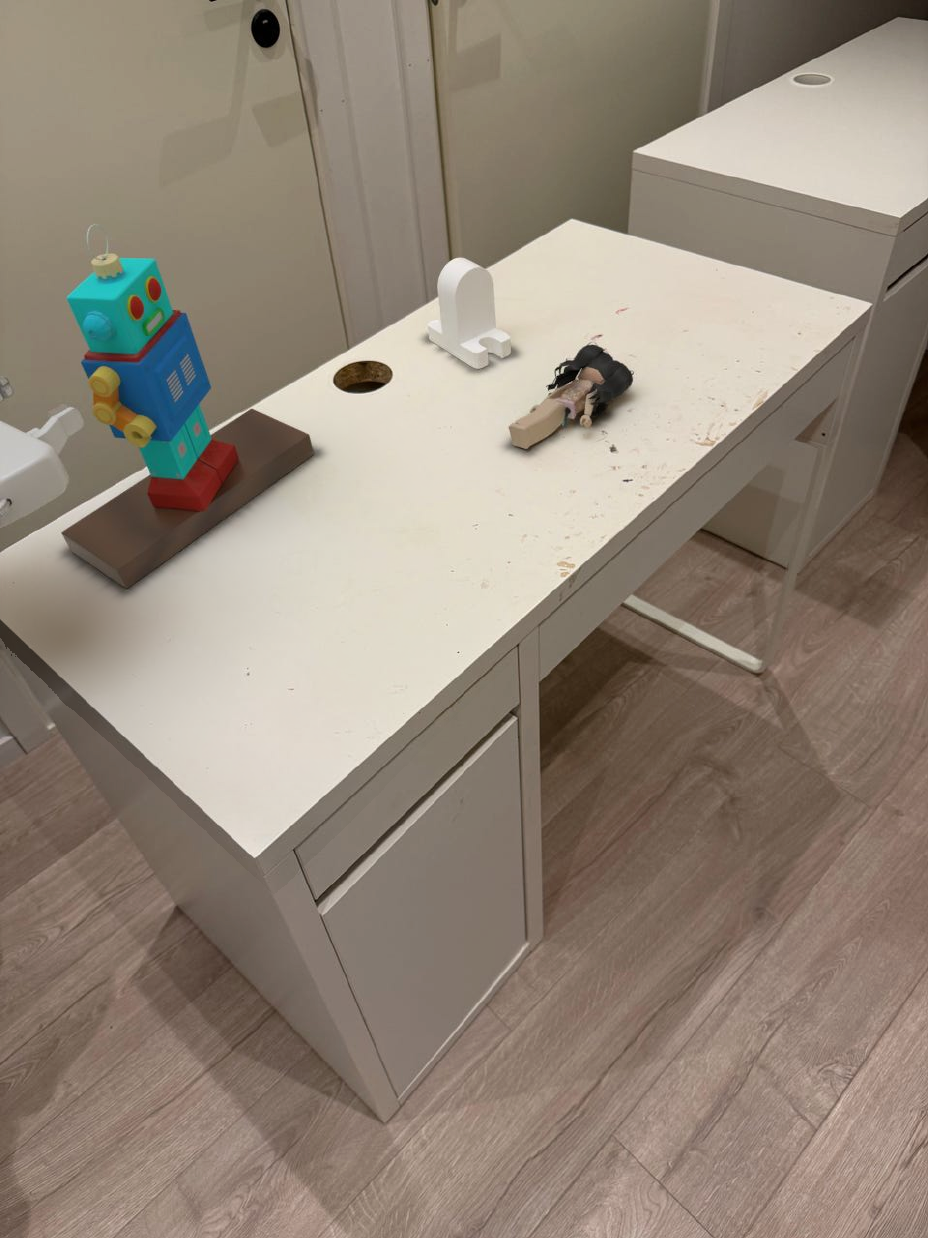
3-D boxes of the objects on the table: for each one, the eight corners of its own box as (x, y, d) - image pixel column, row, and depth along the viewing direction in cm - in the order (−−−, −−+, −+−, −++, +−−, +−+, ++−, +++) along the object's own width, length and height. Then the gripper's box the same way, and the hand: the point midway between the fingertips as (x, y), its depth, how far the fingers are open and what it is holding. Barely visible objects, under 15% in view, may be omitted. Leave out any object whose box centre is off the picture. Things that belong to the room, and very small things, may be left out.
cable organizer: (477, 370, 100) (470, 285, 93) (427, 338, 106) (416, 256, 99) (513, 352, 102) (509, 268, 95) (462, 322, 108) (454, 241, 101)
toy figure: (563, 467, 87) (642, 388, 94) (554, 413, 83) (638, 334, 90) (506, 452, 91) (586, 377, 98) (495, 399, 87) (579, 325, 94)
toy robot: (197, 524, 82) (90, 260, 64) (139, 518, 83) (18, 258, 65) (246, 449, 89) (163, 194, 71) (192, 445, 91) (97, 194, 73)
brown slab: (126, 589, 80) (116, 569, 78) (71, 552, 85) (60, 532, 83) (314, 454, 92) (309, 434, 90) (257, 427, 96) (251, 407, 95)
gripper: (-65, 505, 57) (106, 398, 64) (-214, 416, 66) (-49, 331, 73) (-18, 575, 61) (137, 468, 68) (-163, 483, 70) (-13, 397, 78)
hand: (39, 397), depth 71 cm, fingers open, 8 cm apart
